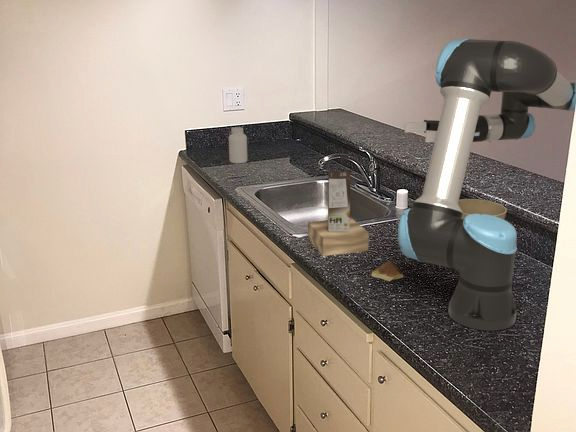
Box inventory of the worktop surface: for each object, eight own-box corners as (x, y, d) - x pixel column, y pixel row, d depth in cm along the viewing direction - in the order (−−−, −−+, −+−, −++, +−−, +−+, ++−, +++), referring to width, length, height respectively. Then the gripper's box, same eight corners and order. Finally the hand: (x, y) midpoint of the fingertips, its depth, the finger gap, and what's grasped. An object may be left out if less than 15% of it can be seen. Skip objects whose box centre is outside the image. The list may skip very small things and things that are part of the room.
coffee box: (350, 232, 191) (351, 178, 186) (327, 232, 191) (328, 178, 186) (348, 222, 199) (349, 170, 194) (327, 222, 200) (328, 170, 195)
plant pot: (458, 273, 177) (463, 217, 172) (437, 252, 191) (441, 200, 186) (510, 269, 179) (517, 214, 174) (486, 249, 193) (491, 197, 188)
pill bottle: (225, 162, 292) (224, 128, 287) (237, 158, 298) (236, 125, 293) (239, 164, 287) (238, 130, 283) (251, 161, 294) (250, 127, 289)
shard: (390, 264, 184) (390, 258, 183) (415, 271, 179) (415, 265, 179) (370, 277, 176) (370, 271, 175) (395, 284, 171) (395, 278, 171)
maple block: (368, 252, 193) (368, 232, 191) (322, 257, 189) (323, 237, 187) (350, 236, 205) (351, 217, 203) (307, 240, 202) (308, 222, 200)
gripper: (505, 150, 181) (434, 155, 175) (460, 132, 203) (396, 136, 198) (508, 123, 178) (436, 127, 173) (462, 108, 201) (397, 111, 196)
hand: (415, 132), depth 186 cm, fingers open, 13 cm apart
